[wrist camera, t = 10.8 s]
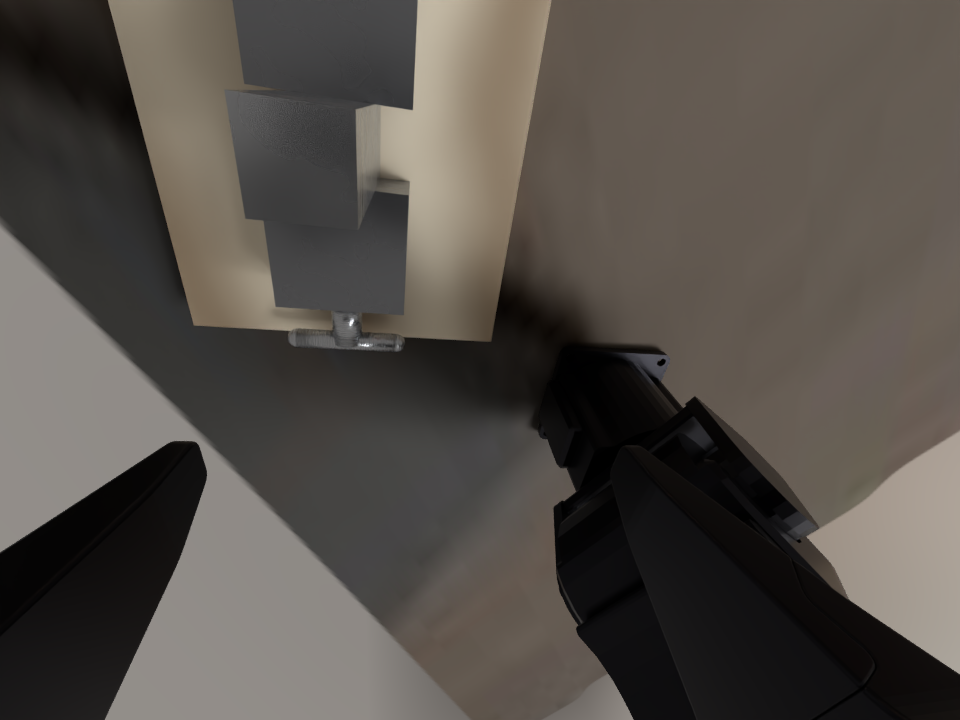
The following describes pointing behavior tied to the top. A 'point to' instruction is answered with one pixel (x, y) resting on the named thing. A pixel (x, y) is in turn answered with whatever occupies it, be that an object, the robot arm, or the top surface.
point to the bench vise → (326, 156)
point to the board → (403, 156)
